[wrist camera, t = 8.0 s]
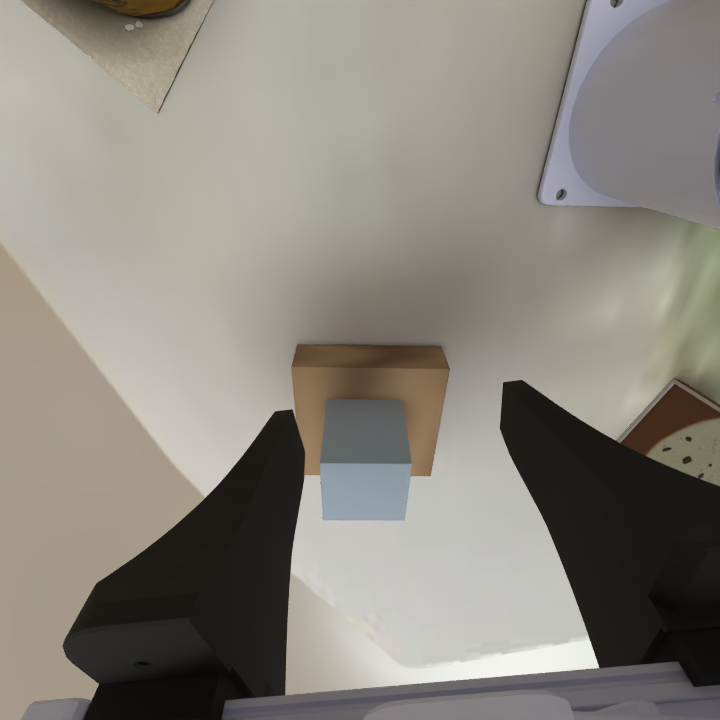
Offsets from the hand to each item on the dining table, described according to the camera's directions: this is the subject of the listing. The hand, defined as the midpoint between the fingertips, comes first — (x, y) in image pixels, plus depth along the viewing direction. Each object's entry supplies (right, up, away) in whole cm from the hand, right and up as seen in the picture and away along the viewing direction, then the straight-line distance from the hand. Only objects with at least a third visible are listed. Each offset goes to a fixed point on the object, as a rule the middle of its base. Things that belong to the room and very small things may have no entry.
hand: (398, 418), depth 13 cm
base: (-1, -1, +13) cm, 13 cm away
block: (-1, -2, +11) cm, 11 cm away
